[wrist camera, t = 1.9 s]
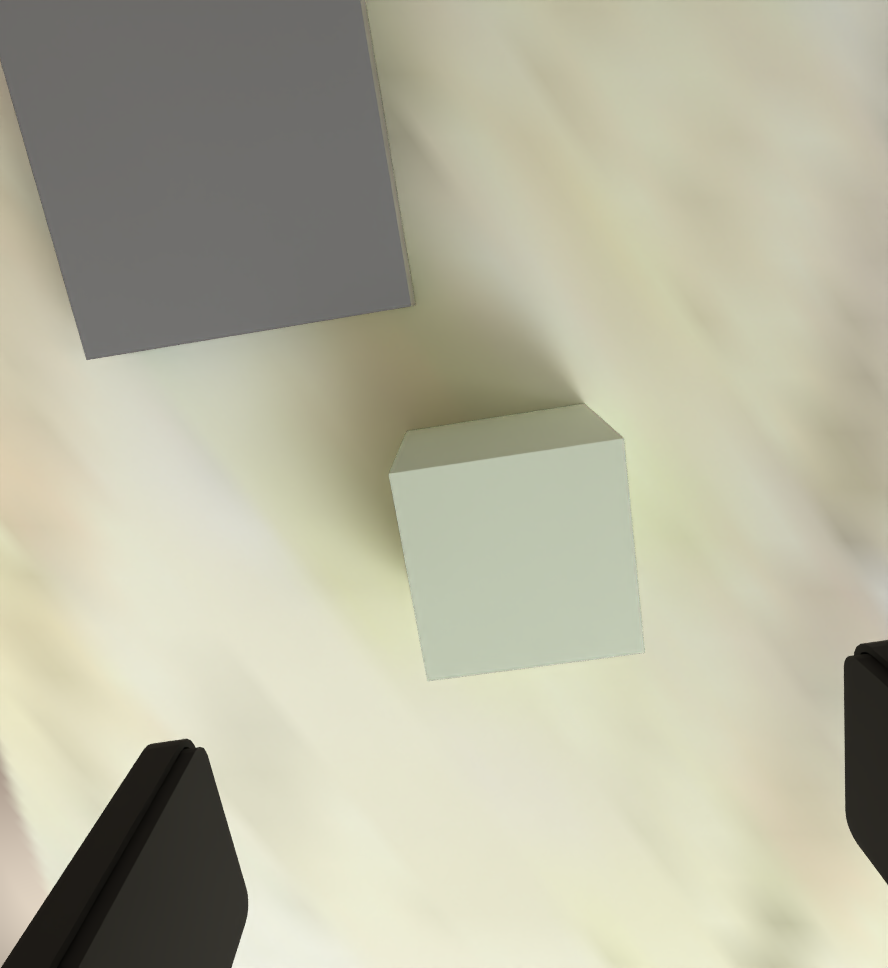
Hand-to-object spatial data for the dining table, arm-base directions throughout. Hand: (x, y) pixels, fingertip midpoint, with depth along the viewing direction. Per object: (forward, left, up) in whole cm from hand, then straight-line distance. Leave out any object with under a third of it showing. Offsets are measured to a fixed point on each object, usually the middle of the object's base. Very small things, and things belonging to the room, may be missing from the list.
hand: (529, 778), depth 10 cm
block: (-1, 0, -15) cm, 15 cm away
